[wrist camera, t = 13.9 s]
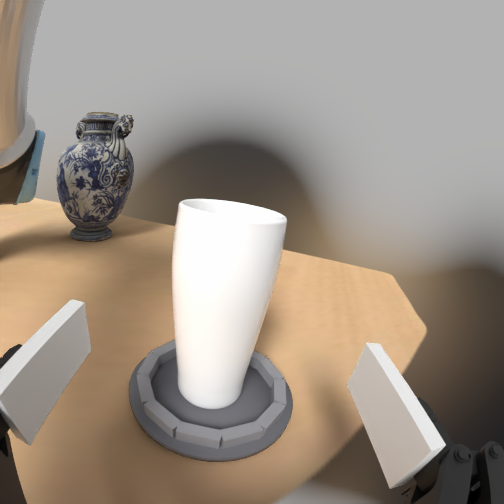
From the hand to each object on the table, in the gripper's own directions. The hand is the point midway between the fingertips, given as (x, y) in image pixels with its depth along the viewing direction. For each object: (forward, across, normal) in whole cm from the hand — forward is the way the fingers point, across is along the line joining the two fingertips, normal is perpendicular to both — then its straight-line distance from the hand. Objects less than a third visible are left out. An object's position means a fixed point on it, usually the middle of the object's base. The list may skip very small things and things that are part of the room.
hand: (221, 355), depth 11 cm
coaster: (+7, 0, -10) cm, 13 cm away
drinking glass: (+7, 0, -10) cm, 12 cm away
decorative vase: (+46, -33, -11) cm, 58 cm away
